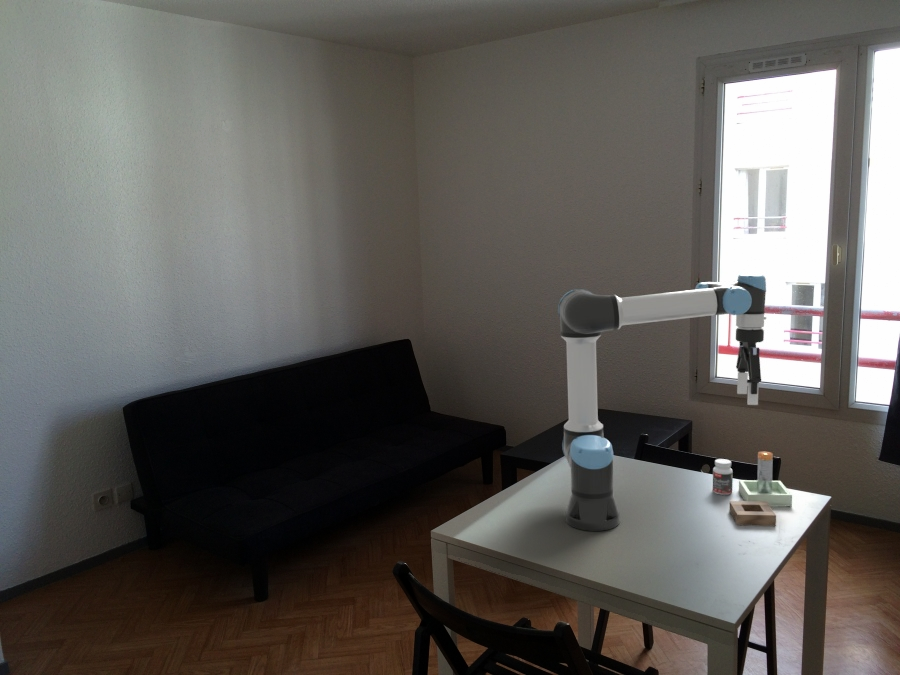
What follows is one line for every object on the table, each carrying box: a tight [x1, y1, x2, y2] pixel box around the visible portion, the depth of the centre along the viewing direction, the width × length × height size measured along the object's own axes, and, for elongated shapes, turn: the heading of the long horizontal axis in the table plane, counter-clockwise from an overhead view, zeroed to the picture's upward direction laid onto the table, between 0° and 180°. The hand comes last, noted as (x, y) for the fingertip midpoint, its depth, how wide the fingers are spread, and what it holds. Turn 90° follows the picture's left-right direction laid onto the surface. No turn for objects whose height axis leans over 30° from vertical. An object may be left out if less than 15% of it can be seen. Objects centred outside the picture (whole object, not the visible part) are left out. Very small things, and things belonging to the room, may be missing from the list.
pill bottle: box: [712, 458, 734, 496], centre depth 224 cm, size 6×6×10 cm
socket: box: [728, 500, 777, 527], centre depth 204 cm, size 10×10×3 cm
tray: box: [738, 479, 793, 508], centre depth 217 cm, size 12×12×4 cm
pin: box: [757, 451, 774, 494], centre depth 216 cm, size 4×4×13 cm
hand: (747, 399), depth 215 cm, fingers open, 13 cm apart
